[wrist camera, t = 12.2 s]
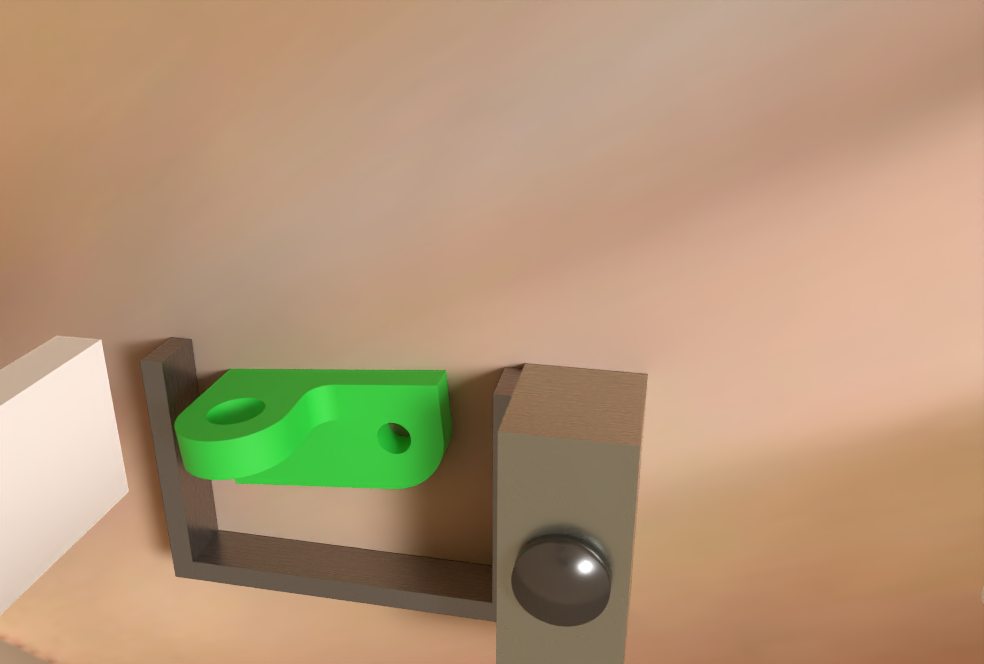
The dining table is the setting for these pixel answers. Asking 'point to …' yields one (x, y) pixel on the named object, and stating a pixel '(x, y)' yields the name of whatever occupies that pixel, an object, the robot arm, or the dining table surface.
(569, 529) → the knobbed latch bracket
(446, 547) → the dining table surface
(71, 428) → the robot arm
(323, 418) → the mechanical part
